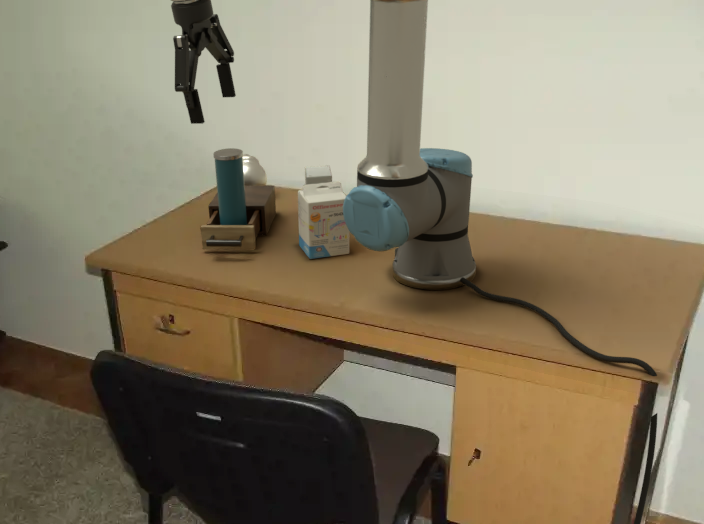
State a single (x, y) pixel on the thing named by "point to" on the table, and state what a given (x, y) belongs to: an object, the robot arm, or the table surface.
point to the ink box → (322, 220)
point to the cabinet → (256, 204)
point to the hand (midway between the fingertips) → (214, 109)
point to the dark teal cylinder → (230, 186)
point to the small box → (318, 175)
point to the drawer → (231, 232)
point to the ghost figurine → (253, 172)
